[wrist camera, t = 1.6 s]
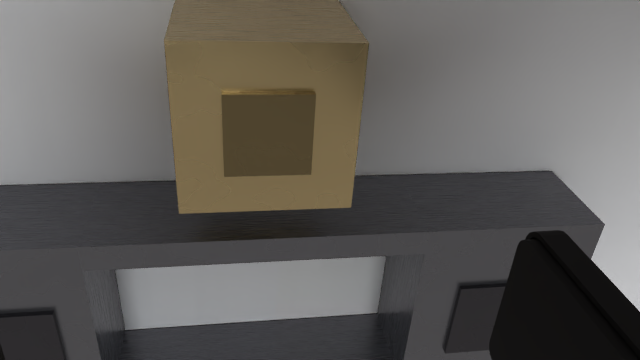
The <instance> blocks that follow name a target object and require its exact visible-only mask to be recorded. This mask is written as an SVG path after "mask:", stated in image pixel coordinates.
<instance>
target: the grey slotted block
mask: <svg viewBox="0 0 640 360" xmlns="http://www.w3.org/2000/svg"><path fill="white" fill-rule="evenodd" d="M604 225H605V224H604V223H603V222H602V221H601V220H600V219H599V218H598V217H597V216H596V215H595V214H594V213H593V212H592V211H591V210H590V209H589V208H588V207H587V206H586V205H585V204H584V203H583V202H582V201H581V200H580V199H579V198H578V197H577V196H576V195H575V194H574V193H573V192H572V191H571V190H570V189H569V188H568V187H567V186H566V185H565V184H564V183H563V182H562V181H561V180H560V179H559V178H558V177H557V176H556V175H555V174H554V173H553V172H552V171H539V172H501V173H463V174H425V175H387V176H354V186H353V195H352V204H351V208H327V209H299V210H270V211H242V212H214V213H186V214H179V209H178V197H177V185H176V181H159V182H121V183H83V184H45V185H7V186H0V344H1V348H2V351H3V354H4V357H5V360H492V359H491V356H490V351H489V342H490V338H491V334H492V331H493V327H494V324H495V321H496V317H497V314H498V310H499V307H500V304H501V300H502V297H503V293H504V290H505V286H506V283H507V280H508V276H509V273H510V269H511V266H512V263H513V259H514V256H515V252H516V249H517V246H518V244H519V242H520V241H521V240H525V238H526V236H527V235H528V234H529V233H530V232H534V231H552V230H561V231H564V232H565V233H566V234H567V235H568V236H569V237H570V238H571V239H572V240H573V241H574V242H575V243H576V244H577V245H578V246H579V247H580V248H581V250H582V251H583V252H584V253H585V254H586V255H587V256H588V257H589V258H590V259H591V258H592V255H593V253H594V250H595V248H596V245H597V243H598V240H599V238H600V235H601V233H602V230H603V228H604ZM371 256H386V263H385V269H384V276H383V282H382V288H381V295H380V301H379V307H378V314H366V315H351V316H336V317H322V318H307V319H292V320H277V321H262V322H248V323H233V324H218V325H203V326H188V327H173V328H159V329H144V330H129V331H125V328H124V322H123V316H122V310H121V304H120V298H119V292H118V286H117V280H116V274H115V269H132V268H152V267H172V266H192V265H212V264H231V263H251V262H271V261H291V260H311V259H331V258H351V257H371Z"/></svg>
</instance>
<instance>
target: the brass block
mask: <svg viewBox="0 0 640 360" xmlns="http://www.w3.org/2000/svg"><path fill="white" fill-rule="evenodd" d="M164 45H165V57H166V69H167V80H168V92H169V104H170V115H171V127H172V139H173V150H174V162H175V174H176V185H177V197H178V209H179V214H186V213H214V212H242V211H270V210H299V209H327V208H351V204H352V195H353V186H354V176H355V167H356V158H357V149H358V139H359V130H360V121H361V112H362V103H363V93H364V84H365V75H366V66H367V57H368V47H369V43H368V41H367V40H366V38H365V37H364V36H363V34H362V33H361V31H360V30H359V29H358V27H357V26H356V25H355V23H354V22H353V20H352V19H351V18H350V16H349V15H348V13H347V12H346V11H345V9H344V8H343V6H342V5H341V4H340V2H339V1H338V0H175V3H174V7H173V10H172V14H171V17H170V21H169V25H168V28H167V32H166V35H165V39H164Z"/></svg>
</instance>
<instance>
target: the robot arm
mask: <svg viewBox="0 0 640 360" xmlns="http://www.w3.org/2000/svg"><path fill="white" fill-rule="evenodd" d="M489 351H490V356H491V359H492V360H640V312H639V311H638V309H637V308H636V307H635V306H634V305H633V304H632V303H631V302H630V301H629V300H628V299H627V298H626V297H625V296H624V294H623V293H622V292H621V291H620V290H619V289H618V288H617V287H616V286H615V285H614V284H613V283H612V282H611V281H610V280H609V278H608V277H607V276H606V275H605V274H604V273H603V272H602V271H601V270H600V269H599V268H598V267H597V266H596V265H595V263H594V262H593V261H592V260H591V259H590V258H589V257H588V256H587V255H586V254H585V253H584V252H583V251H582V250H581V248H580V247H579V246H578V245H577V244H576V243H575V242H574V241H573V240H572V239H571V238H570V237H569V236H568V235H567V234H566V233H565V232H564V231H561V230H552V231H534V232H530V233H529V234H528V235H527V236H526V238H525V240H521V241H520V242H519V244H518V246H517V249H516V252H515V256H514V259H513V263H512V266H511V269H510V273H509V276H508V280H507V283H506V286H505V290H504V293H503V297H502V300H501V304H500V307H499V310H498V314H497V317H496V321H495V324H494V327H493V331H492V334H491V338H490V342H489ZM0 360H5V357H4V354H3V351H2V348H1V344H0Z"/></svg>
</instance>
